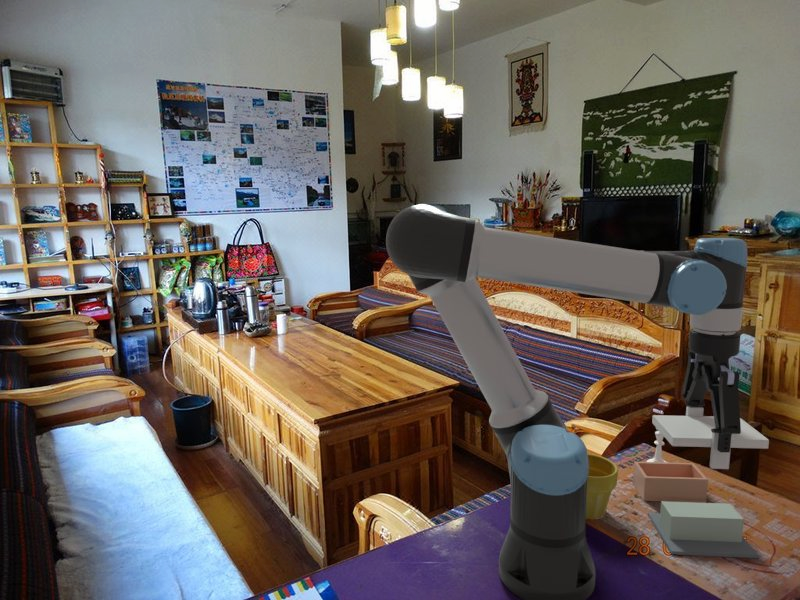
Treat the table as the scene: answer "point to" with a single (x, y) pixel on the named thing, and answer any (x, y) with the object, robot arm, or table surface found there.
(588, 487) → the plant pot
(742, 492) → the table surface
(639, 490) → the open box
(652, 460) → the chess piece
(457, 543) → the table surface
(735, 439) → the board
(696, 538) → the stand
